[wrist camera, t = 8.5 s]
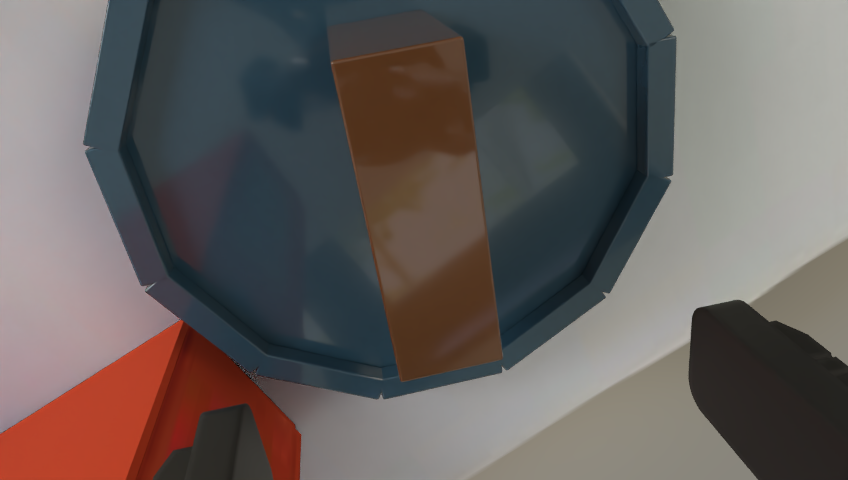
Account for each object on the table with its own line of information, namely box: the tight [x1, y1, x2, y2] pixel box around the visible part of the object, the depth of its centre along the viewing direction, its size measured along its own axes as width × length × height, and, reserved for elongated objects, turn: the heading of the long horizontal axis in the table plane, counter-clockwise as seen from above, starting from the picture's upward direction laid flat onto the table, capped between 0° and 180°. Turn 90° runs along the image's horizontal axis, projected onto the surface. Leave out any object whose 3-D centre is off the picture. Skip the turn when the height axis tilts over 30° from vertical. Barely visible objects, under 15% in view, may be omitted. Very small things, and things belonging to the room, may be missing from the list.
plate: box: [83, 0, 676, 399], centre depth 19 cm, size 19×19×7 cm
